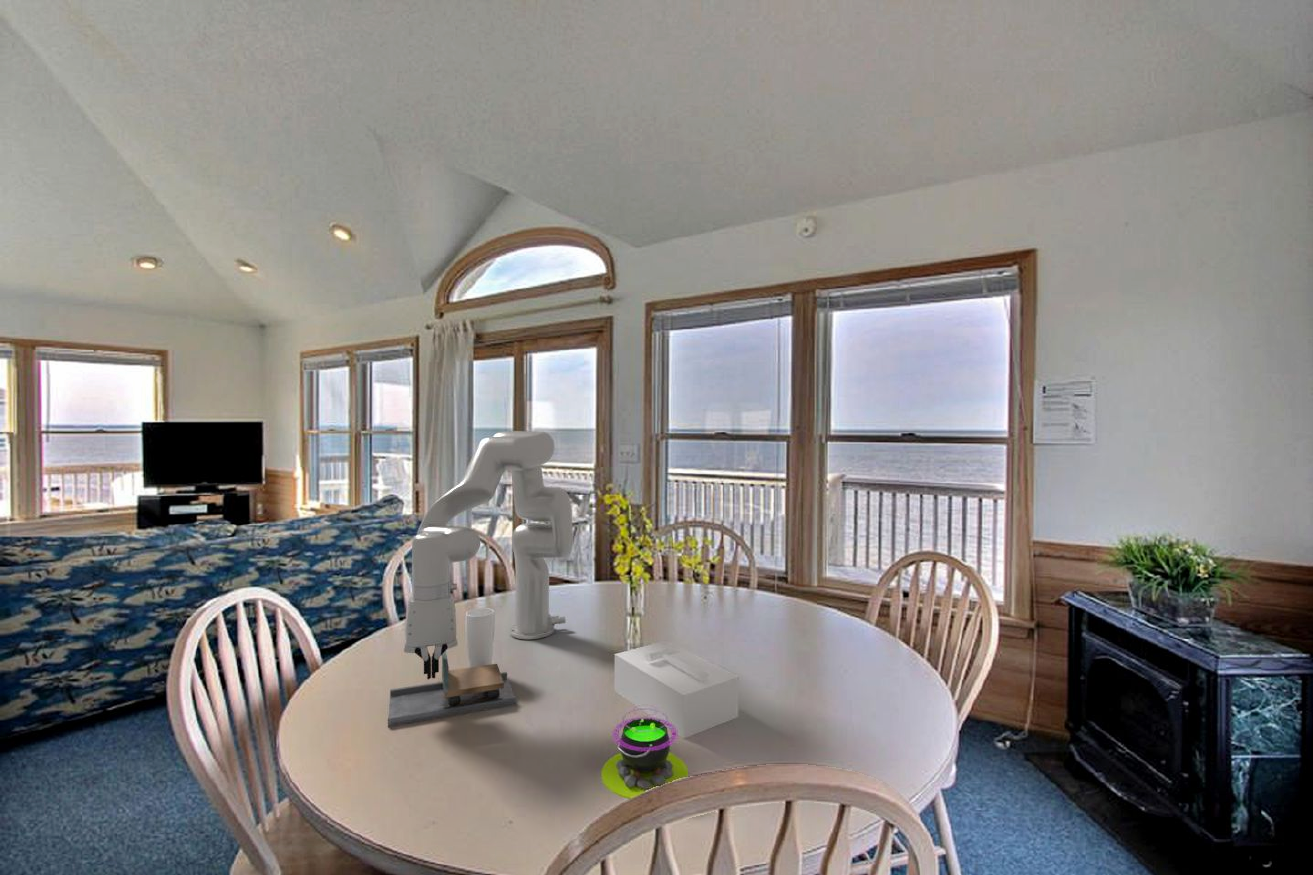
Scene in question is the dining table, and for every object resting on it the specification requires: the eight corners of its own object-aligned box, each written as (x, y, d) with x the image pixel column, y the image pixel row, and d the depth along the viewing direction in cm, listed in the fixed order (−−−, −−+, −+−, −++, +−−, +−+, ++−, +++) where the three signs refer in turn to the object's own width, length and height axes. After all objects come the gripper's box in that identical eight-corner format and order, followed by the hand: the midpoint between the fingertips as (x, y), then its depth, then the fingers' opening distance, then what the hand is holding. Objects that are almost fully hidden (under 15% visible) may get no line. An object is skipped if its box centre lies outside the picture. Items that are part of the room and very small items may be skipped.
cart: (496, 678, 136) (497, 642, 136) (503, 699, 126) (503, 659, 126) (442, 687, 131) (442, 649, 131) (444, 709, 121) (444, 668, 121)
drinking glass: (498, 668, 144) (498, 608, 144) (488, 680, 137) (488, 617, 137) (472, 667, 145) (472, 607, 144) (460, 679, 138) (460, 615, 138)
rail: (506, 678, 138) (506, 671, 138) (516, 704, 125) (516, 697, 125) (390, 696, 129) (390, 689, 129) (387, 726, 116) (387, 718, 116)
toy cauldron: (595, 754, 107) (596, 695, 107) (675, 745, 110) (675, 687, 110) (608, 807, 92) (608, 737, 92) (699, 793, 96) (699, 727, 95)
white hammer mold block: (665, 676, 141) (665, 631, 141) (738, 718, 121) (738, 665, 121) (614, 691, 133) (614, 643, 132) (683, 739, 112) (683, 683, 112)
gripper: (466, 583, 131) (466, 664, 132) (393, 590, 126) (393, 674, 126) (469, 592, 124) (469, 677, 125) (392, 599, 119) (392, 689, 119)
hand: (431, 676), depth 125 cm, fingers closed
